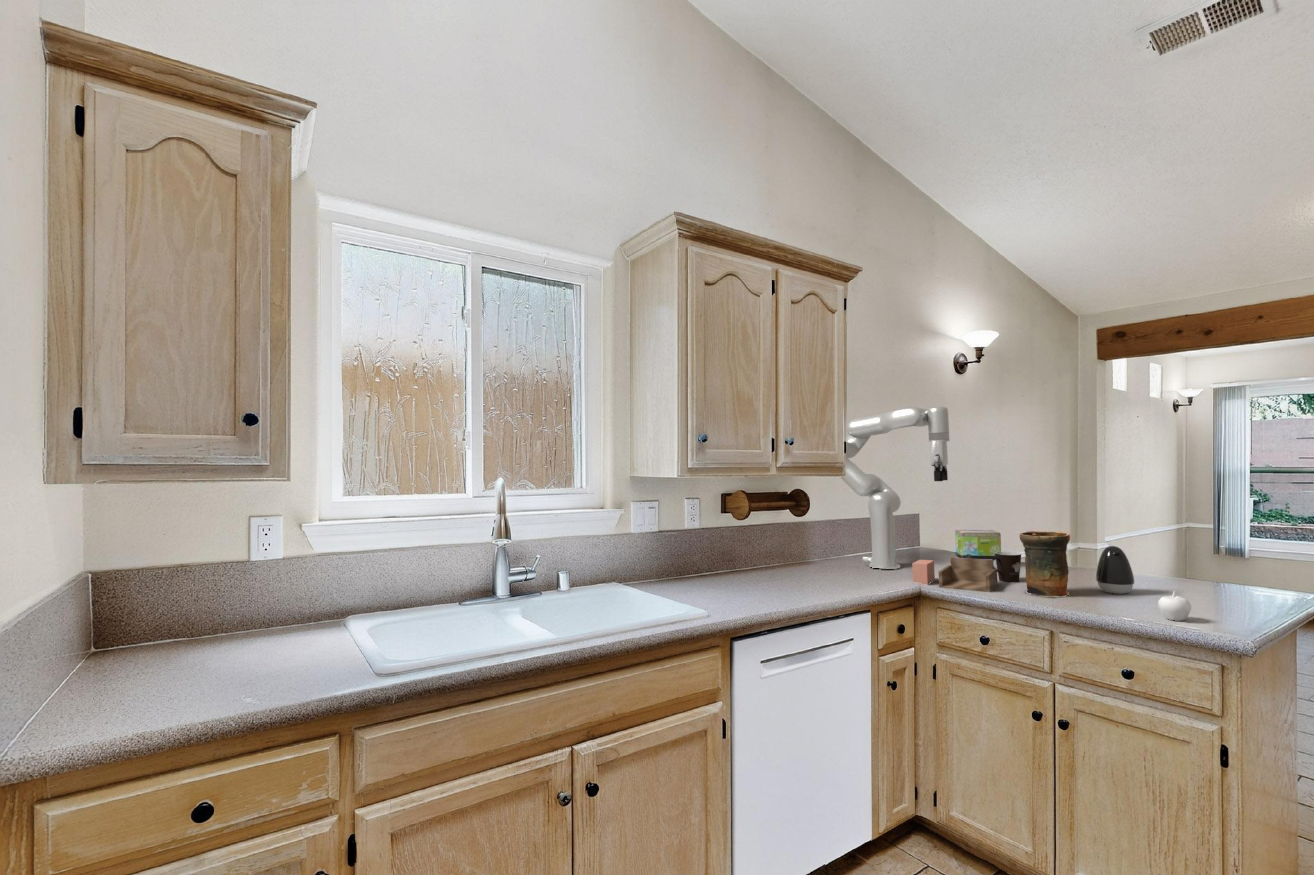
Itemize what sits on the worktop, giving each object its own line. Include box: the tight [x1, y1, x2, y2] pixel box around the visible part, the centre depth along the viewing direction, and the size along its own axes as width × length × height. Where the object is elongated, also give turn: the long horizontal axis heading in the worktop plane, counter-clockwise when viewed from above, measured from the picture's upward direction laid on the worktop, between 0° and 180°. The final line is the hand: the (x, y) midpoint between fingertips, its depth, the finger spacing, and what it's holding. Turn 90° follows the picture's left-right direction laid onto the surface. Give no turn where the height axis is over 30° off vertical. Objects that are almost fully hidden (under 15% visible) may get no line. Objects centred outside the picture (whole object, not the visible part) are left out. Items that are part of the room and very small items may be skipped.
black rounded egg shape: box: [1095, 545, 1135, 595], centre depth 208 cm, size 10×10×15 cm
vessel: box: [1019, 530, 1071, 598], centre depth 209 cm, size 14×14×20 cm
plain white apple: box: [1157, 590, 1192, 622], centre depth 173 cm, size 7×7×8 cm
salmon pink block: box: [911, 559, 936, 585], centre depth 234 cm, size 5×10×8 cm, turn 143°
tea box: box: [954, 529, 1002, 569], centre depth 263 cm, size 15×10×15 cm
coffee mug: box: [992, 551, 1022, 583], centre depth 232 cm, size 12×9×10 cm
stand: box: [938, 557, 999, 593], centre depth 224 cm, size 16×15×9 cm
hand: (941, 480), depth 252 cm, fingers open, 9 cm apart
